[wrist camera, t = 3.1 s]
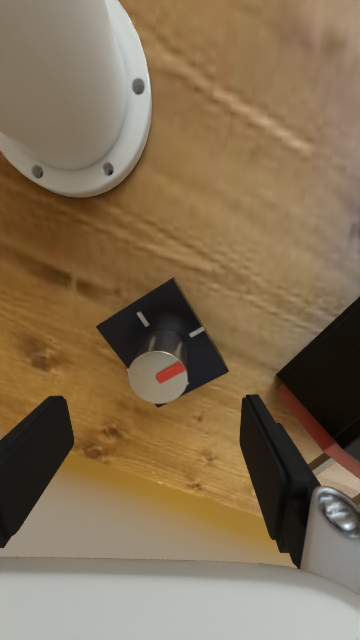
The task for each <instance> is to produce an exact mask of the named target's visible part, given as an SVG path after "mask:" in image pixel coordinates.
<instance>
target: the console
mask: <svg viewBox="0 0 360 640" xmlns="http://www.w3.org/2000/svg"><path fill="white" fill-rule="evenodd" d="M96 327H97V329H98V330H99V331H100V333H101V334H102V335H103V337H104V338H105V339H106V341H107V342H108V343H109V344H110V346H111V347H112V348H113V350H114V351H115V352H116V354H117V355H118V356H119V358H120V359H121V360H122V362H123V363H124V364H125V365H126V367H127V368H128V369H127V372H128V371H129V368H130V366H131V364H132V362H133V360H134V358H135V356H136V355H137V353H138V351H139V349H140V347H141V346H142V344H143V342H144V340H145V338H146V337H147V336H148V335H149V334H150V333H152V332H154V331H156V330H161V329H167V330H171V331H174V332H176V333H177V334H179V335H180V336H181V337H182V339H183V340H184V342H185V344H186V351H187V372H188V382H187V386H186V388H185V390H184V392H183V393H182V394H181V395H180V396H182V395H184V394H186V393H188V392H190V391H192V390H194V389H196V388H198V387H200V386H202V385H204V384H206V383H208V382H210V381H211V380H213V379H215V378H217V377H219V376H221V375H223V374H225V373H227V372H229V370H228V368H227V366H226V364H225V362H224V359H223V358H222V356H221V354H220V353H219V351H218V349H217V348H216V346H215V344H214V343H213V341H212V339H211V338H210V336H209V334H208V333H207V331H206V329H205V328H204V326H203V324H202V323H201V321H200V319H199V318H198V316H197V314H196V313H195V311H194V310H193V308H192V306H191V305H190V303H189V301H188V300H187V298H186V296H185V295H184V293H183V291H182V290H181V288H180V286H179V285H178V283H177V281H176V280H175V278H174V277H173V278H172V279H170V280H168V281H167V282H165V283H164V284H162V285H160V286H159V287H157V288H156V289H154V290H153V291H151V292H149V293H148V294H146V295H145V296H143V297H141V298H140V299H138V300H137V301H135V302H134V303H132V304H130V305H129V306H127V307H126V308H124V309H122V310H121V311H119V312H118V313H116V314H114V315H113V316H111V317H110V318H108V319H107V320H105V321H103V322H102V323H100V324H99V325H97V326H96ZM180 396H179V397H180ZM154 404H155V403H154ZM165 404H166V403H163V404H155V405H156V406H157V407H158V408H159V407H161V406H163V405H165Z"/></svg>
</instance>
